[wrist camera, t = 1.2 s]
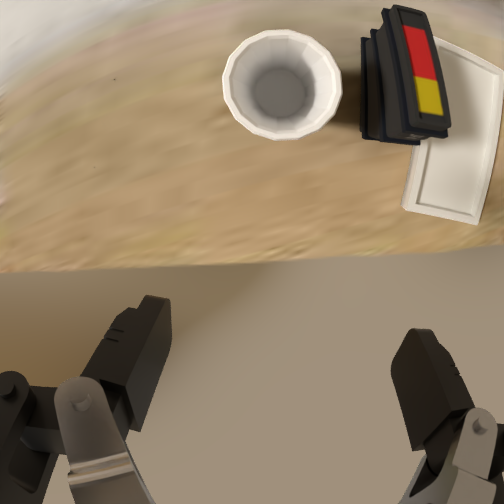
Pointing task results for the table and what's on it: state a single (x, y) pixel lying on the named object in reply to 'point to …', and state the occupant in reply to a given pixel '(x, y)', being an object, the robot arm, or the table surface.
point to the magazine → (402, 81)
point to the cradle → (459, 141)
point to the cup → (282, 84)
